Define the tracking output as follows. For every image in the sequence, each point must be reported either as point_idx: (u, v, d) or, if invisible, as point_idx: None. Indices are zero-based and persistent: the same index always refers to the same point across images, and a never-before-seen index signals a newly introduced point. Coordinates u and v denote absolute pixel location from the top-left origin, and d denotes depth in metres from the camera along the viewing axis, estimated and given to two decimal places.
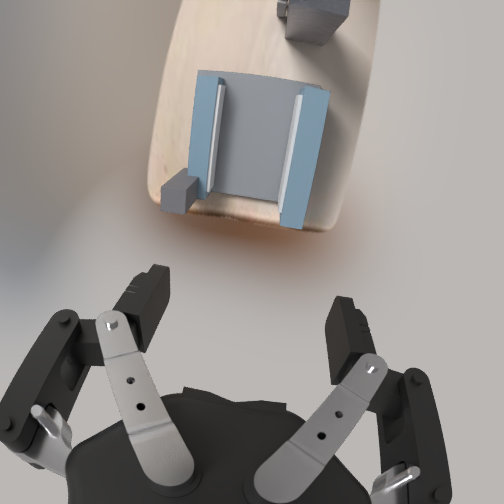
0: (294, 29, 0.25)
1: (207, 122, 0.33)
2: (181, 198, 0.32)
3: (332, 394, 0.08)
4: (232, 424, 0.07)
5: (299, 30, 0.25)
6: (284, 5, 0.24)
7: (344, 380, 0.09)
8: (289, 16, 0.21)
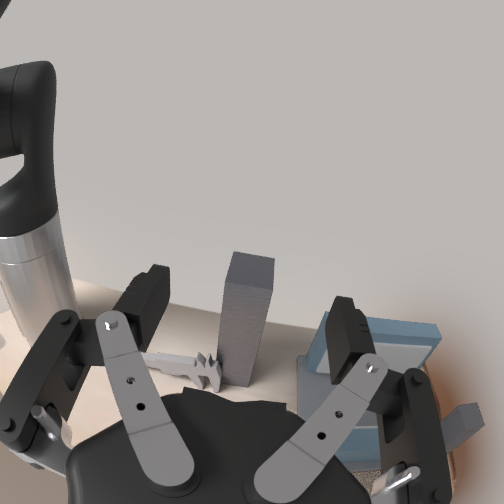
0: None
1: (374, 433, 0.23)
2: (466, 408, 0.19)
3: (332, 394, 0.08)
4: (232, 424, 0.07)
5: None
6: (218, 365, 0.29)
7: (344, 380, 0.09)
8: (264, 322, 0.26)
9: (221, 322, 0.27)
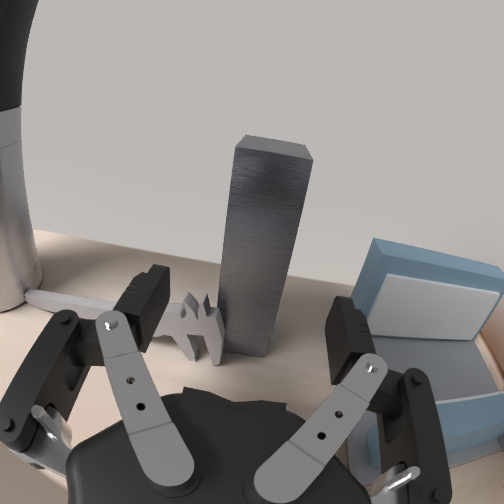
0: None
1: (464, 408, 0.13)
2: None
3: (332, 394, 0.08)
4: (232, 424, 0.07)
5: None
6: (220, 315, 0.19)
7: (344, 380, 0.09)
8: (297, 227, 0.16)
9: (226, 230, 0.17)
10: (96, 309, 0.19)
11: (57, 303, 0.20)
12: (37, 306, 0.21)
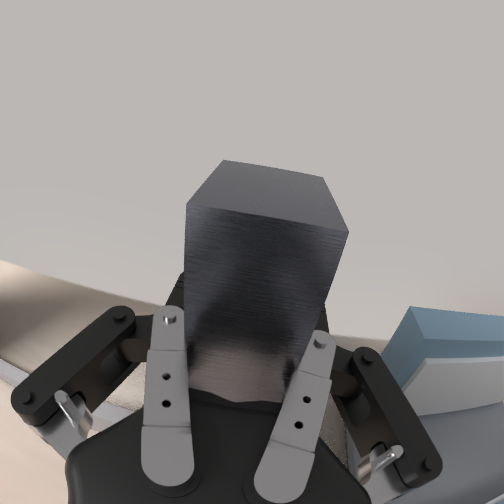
0: None
1: None
2: None
3: (293, 381, 0.08)
4: (232, 424, 0.07)
5: None
6: None
7: (298, 363, 0.09)
8: None
9: (187, 339, 0.09)
10: None
11: (4, 375, 0.13)
12: None
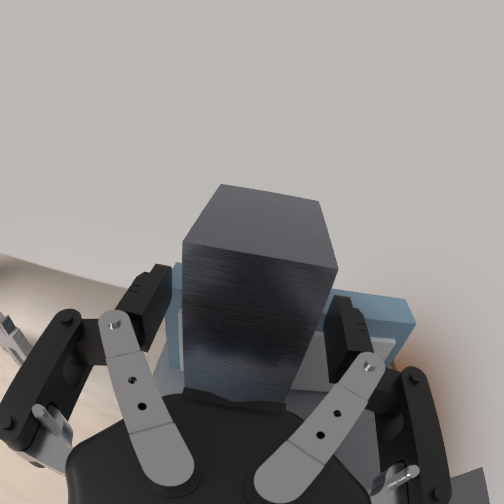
0: None
1: None
2: (455, 486, 0.06)
3: (330, 393, 0.08)
4: (232, 424, 0.07)
5: None
6: (21, 334, 0.15)
7: (342, 379, 0.09)
8: None
9: (186, 360, 0.10)
10: None
11: None
12: None
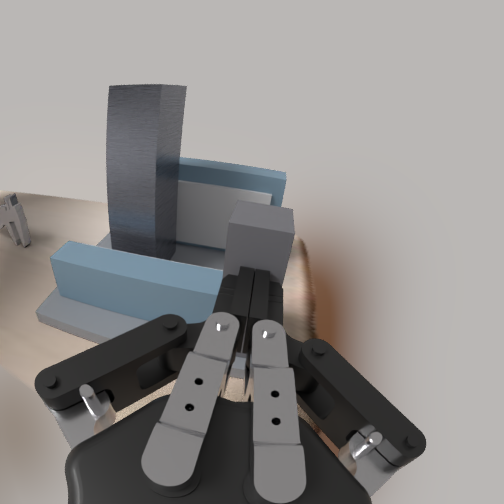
0: (159, 209, 0.21)
1: (128, 258, 0.19)
2: (257, 206, 0.15)
3: (255, 379, 0.08)
4: (232, 424, 0.07)
5: (162, 208, 0.21)
6: (21, 207, 0.23)
7: (253, 358, 0.09)
8: (158, 143, 0.17)
9: (107, 152, 0.18)
10: None
11: None
12: None
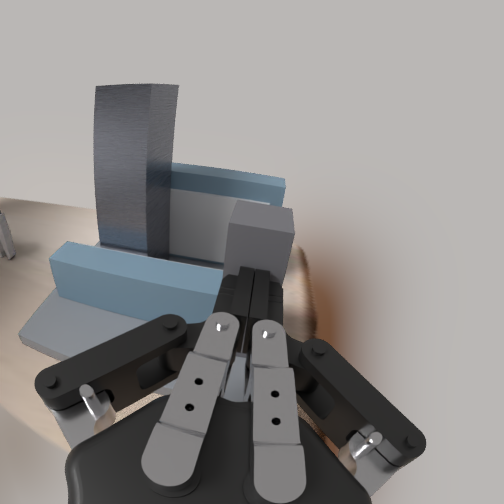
0: (151, 217, 0.19)
1: (127, 258, 0.19)
2: (256, 206, 0.15)
3: (255, 379, 0.08)
4: (232, 424, 0.07)
5: (154, 215, 0.20)
6: (4, 218, 0.21)
7: (253, 358, 0.09)
8: (148, 147, 0.16)
9: (95, 157, 0.16)
10: None
11: None
12: None
